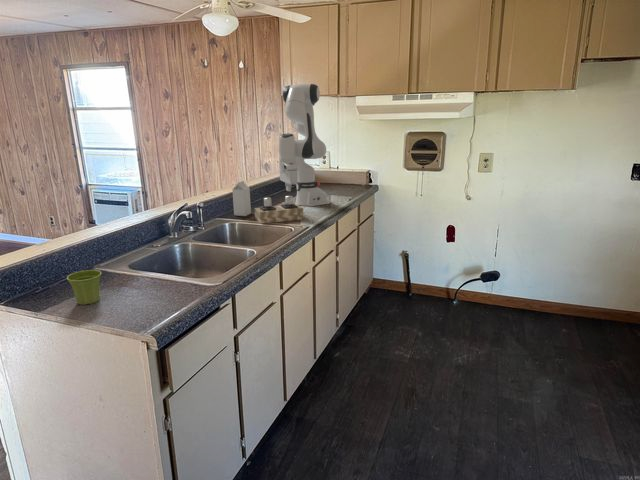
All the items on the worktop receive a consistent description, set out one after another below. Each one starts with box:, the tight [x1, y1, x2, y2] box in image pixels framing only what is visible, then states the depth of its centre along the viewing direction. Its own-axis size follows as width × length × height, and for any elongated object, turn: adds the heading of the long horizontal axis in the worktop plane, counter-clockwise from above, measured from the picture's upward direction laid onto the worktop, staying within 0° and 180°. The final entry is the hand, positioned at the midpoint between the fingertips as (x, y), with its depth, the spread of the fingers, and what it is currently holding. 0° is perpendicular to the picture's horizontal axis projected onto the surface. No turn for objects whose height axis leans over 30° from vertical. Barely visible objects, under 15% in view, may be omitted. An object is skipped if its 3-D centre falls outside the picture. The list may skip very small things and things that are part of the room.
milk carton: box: [231, 180, 252, 217], centre depth 248 cm, size 7×7×19 cm
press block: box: [253, 203, 305, 224], centre depth 238 cm, size 24×12×7 cm, turn 112°
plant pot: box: [66, 269, 102, 306], centre depth 135 cm, size 9×9×9 cm
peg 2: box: [284, 195, 294, 207], centre depth 239 cm, size 4×4×7 cm
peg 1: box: [263, 196, 273, 209], centre depth 234 cm, size 4×4×7 cm
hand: (288, 190), depth 237 cm, fingers closed
